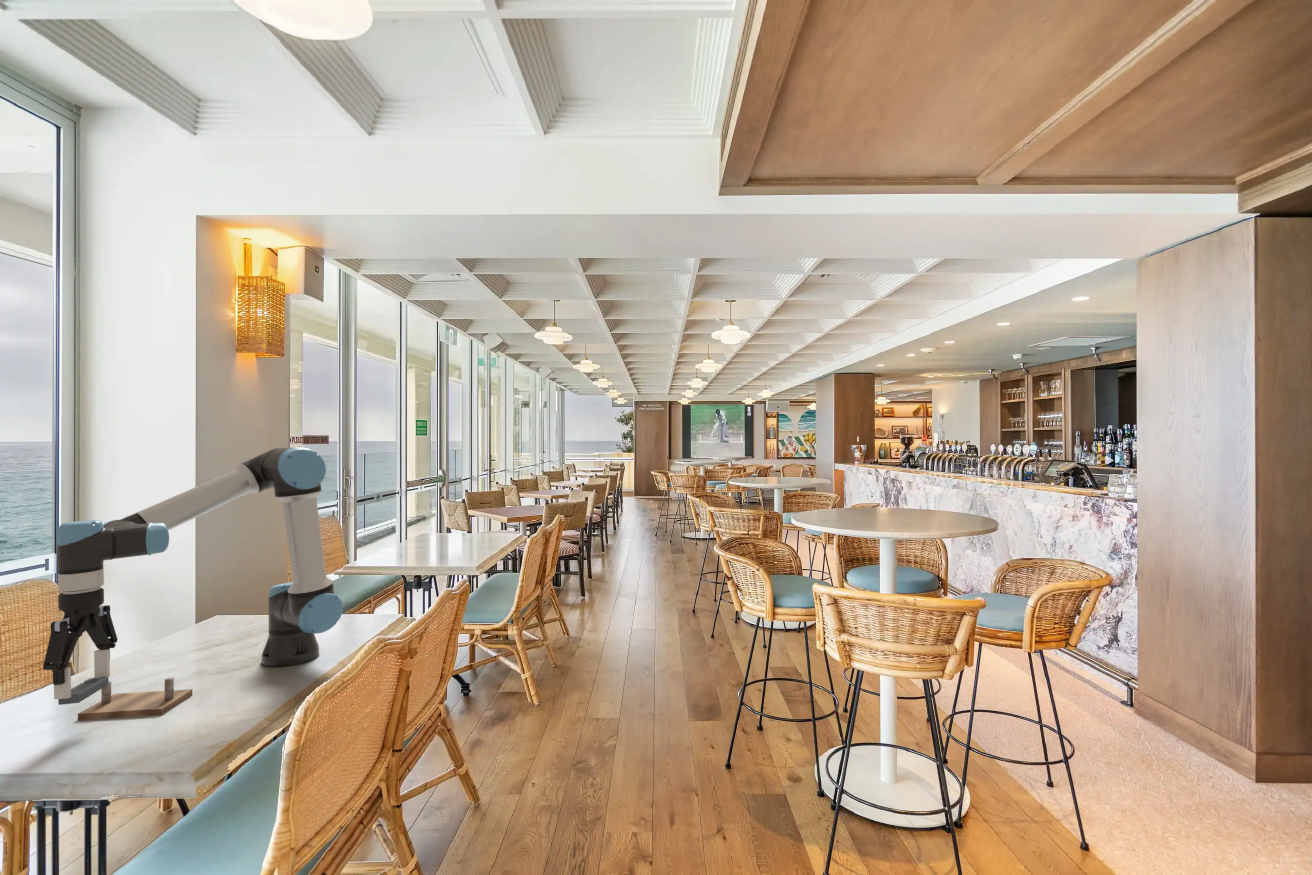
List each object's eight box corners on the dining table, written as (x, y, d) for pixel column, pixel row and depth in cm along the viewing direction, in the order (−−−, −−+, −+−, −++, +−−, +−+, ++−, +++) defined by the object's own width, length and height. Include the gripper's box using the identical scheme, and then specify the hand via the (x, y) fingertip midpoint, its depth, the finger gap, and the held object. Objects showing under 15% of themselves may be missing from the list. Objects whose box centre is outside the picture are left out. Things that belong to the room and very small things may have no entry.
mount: (192, 694, 158) (192, 669, 158) (162, 714, 146) (162, 687, 146) (114, 699, 155) (115, 673, 155) (77, 720, 143) (78, 692, 144)
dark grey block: (57, 705, 132) (57, 696, 132) (89, 686, 142) (88, 677, 142) (79, 703, 133) (79, 693, 133) (109, 684, 143) (109, 675, 143)
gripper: (101, 579, 148) (103, 669, 148) (16, 604, 125) (18, 711, 125) (135, 577, 149) (137, 667, 149) (57, 602, 126) (60, 708, 126)
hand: (83, 687), depth 137 cm, fingers closed on dark grey block, 11 cm apart
